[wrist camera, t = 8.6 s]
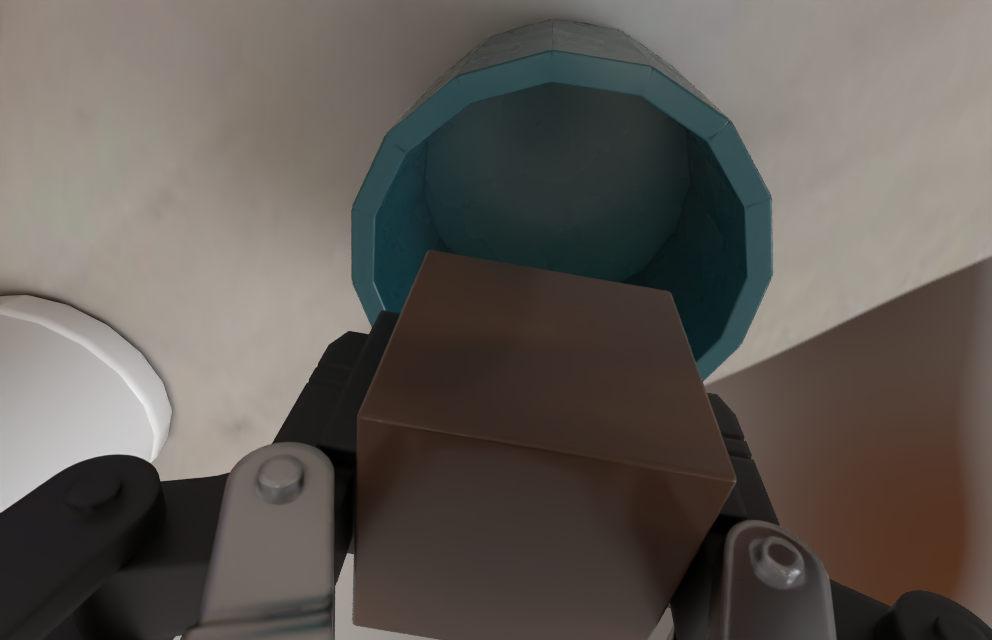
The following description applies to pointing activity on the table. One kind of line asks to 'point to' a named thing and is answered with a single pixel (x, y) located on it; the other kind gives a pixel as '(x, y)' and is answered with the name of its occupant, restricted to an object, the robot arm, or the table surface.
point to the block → (531, 459)
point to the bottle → (70, 394)
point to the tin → (572, 181)
